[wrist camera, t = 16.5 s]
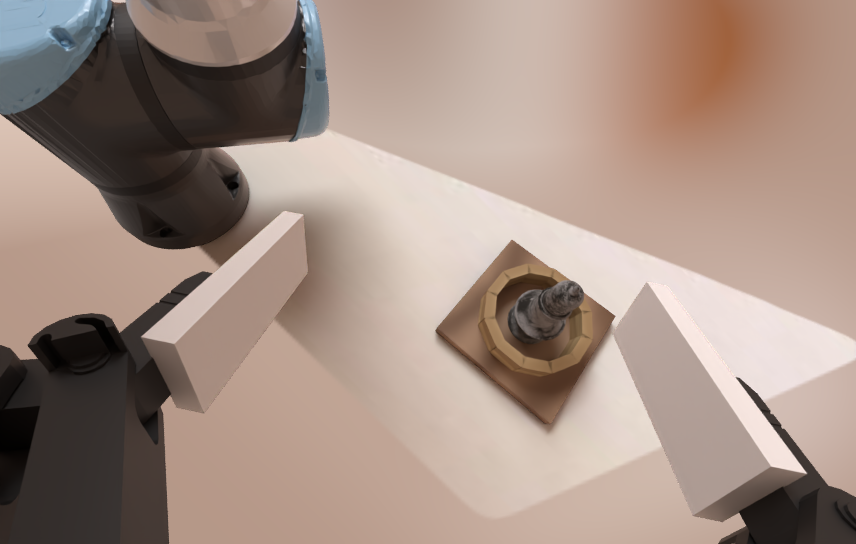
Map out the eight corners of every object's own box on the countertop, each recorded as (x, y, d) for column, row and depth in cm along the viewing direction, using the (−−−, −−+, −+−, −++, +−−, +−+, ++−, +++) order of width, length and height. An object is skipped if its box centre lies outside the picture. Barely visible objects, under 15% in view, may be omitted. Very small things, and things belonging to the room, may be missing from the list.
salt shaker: (558, 343, 40) (620, 316, 29) (510, 349, 39) (556, 323, 28) (545, 297, 42) (598, 255, 31) (500, 301, 42) (538, 259, 31)
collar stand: (435, 330, 41) (440, 321, 37) (508, 244, 47) (519, 228, 43) (545, 423, 38) (563, 424, 34) (608, 319, 44) (630, 309, 40)
